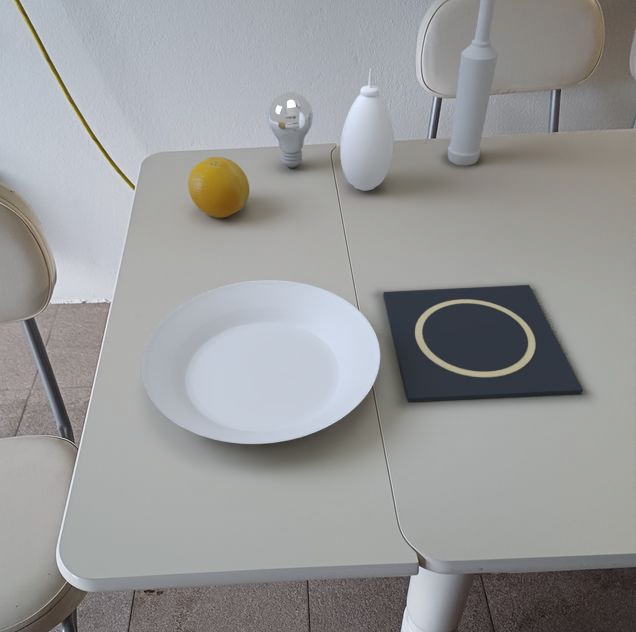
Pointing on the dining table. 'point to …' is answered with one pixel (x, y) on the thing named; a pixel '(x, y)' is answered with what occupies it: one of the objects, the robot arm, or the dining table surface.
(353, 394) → the white plate
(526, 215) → the dining table surface
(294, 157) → the light bulb
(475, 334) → the mat
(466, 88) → the bottle
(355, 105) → the sauce bottle
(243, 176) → the fruit
